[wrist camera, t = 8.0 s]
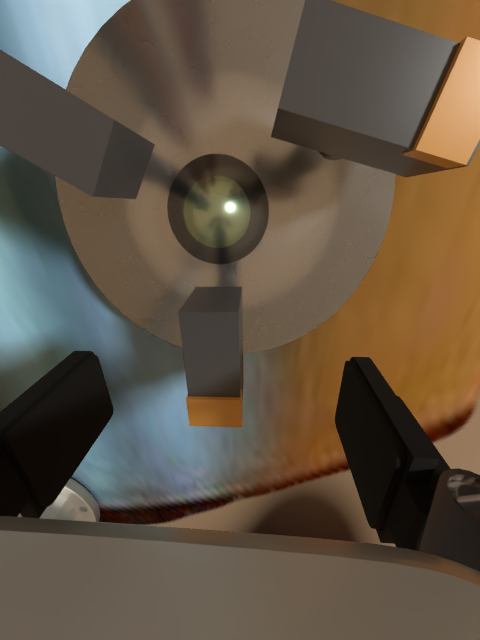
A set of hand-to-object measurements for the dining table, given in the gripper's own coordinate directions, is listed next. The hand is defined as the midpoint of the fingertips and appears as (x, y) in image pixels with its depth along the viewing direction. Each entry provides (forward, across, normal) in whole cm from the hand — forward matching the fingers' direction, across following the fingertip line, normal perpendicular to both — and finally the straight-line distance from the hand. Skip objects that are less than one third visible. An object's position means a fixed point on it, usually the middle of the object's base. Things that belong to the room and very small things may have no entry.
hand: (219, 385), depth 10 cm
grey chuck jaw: (+7, +1, +1) cm, 7 cm away
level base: (+9, +1, -6) cm, 11 cm away
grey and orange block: (+7, -5, -9) cm, 13 cm away
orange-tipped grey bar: (+7, +6, -9) cm, 13 cm away
